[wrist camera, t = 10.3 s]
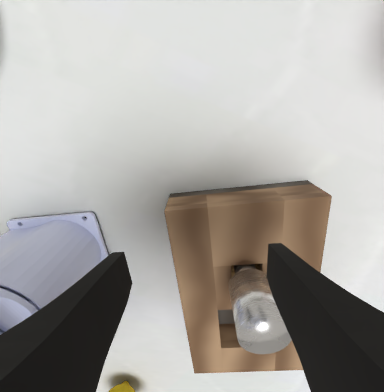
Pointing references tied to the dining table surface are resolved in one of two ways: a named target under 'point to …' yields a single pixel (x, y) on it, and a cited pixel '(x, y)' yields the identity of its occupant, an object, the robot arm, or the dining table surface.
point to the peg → (256, 311)
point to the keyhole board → (238, 260)
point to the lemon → (122, 388)
